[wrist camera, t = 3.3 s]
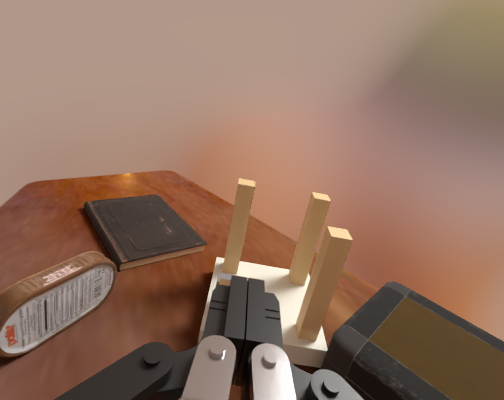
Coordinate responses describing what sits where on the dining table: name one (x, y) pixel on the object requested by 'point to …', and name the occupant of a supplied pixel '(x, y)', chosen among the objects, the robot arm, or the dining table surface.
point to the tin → (53, 301)
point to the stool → (291, 275)
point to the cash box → (415, 351)
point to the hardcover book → (141, 230)
